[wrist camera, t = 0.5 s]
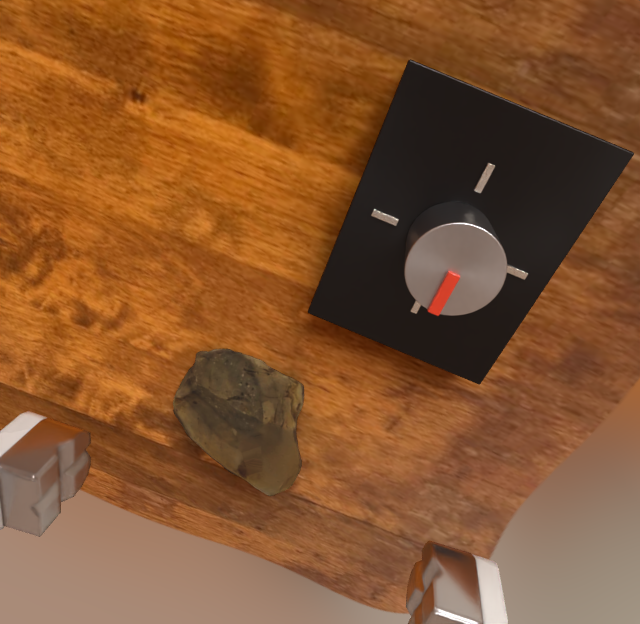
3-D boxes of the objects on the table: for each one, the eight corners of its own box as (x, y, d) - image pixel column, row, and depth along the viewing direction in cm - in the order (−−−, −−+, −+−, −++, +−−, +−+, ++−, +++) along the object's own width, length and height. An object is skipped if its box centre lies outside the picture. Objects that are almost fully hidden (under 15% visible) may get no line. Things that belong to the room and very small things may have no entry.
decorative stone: (170, 419, 38) (148, 450, 35) (202, 328, 33) (180, 354, 30) (289, 475, 38) (278, 511, 35) (337, 392, 33) (328, 424, 30)
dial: (429, 187, 23) (431, 208, 20) (511, 221, 23) (529, 249, 20) (392, 264, 25) (388, 296, 22) (468, 295, 25) (476, 333, 22)
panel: (409, 61, 24) (409, 58, 21) (611, 145, 24) (636, 153, 21) (316, 292, 30) (306, 314, 28) (474, 358, 30) (480, 386, 28)
